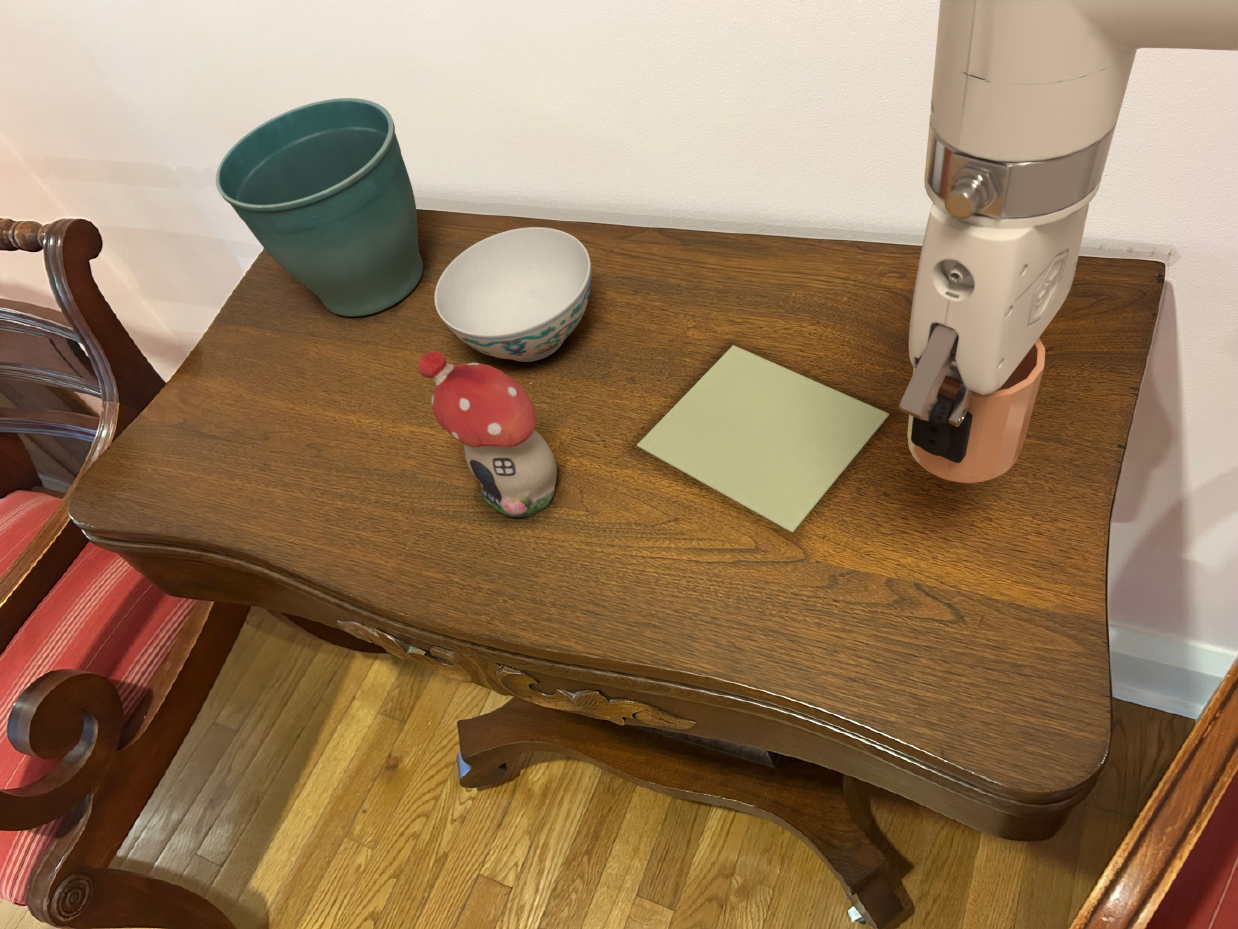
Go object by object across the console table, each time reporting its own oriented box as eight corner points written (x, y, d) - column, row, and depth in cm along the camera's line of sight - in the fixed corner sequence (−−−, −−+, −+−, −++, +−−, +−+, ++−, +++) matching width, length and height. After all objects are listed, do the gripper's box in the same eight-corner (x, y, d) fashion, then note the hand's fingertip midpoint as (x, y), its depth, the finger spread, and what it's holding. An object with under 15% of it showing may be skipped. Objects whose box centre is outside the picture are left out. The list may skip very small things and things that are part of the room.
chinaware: (448, 321, 89) (420, 263, 83) (580, 268, 90) (562, 207, 84) (481, 416, 80) (453, 358, 74) (628, 356, 81) (612, 294, 75)
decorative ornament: (460, 481, 75) (392, 362, 64) (516, 435, 77) (460, 313, 66) (524, 538, 70) (463, 420, 59) (582, 487, 72) (534, 364, 61)
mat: (889, 415, 71) (889, 413, 71) (792, 533, 66) (792, 532, 65) (733, 346, 79) (733, 344, 79) (636, 446, 74) (636, 445, 74)
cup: (1041, 426, 54) (1066, 335, 48) (989, 500, 52) (1009, 414, 45) (940, 386, 58) (952, 296, 51) (887, 454, 55) (893, 368, 49)
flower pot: (480, 240, 97) (426, 100, 84) (397, 351, 88) (321, 214, 75) (357, 224, 104) (288, 93, 91) (268, 325, 95) (178, 196, 82)
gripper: (1004, 292, 33) (956, 538, 47) (1181, 67, 40) (1093, 341, 53) (836, 238, 37) (837, 479, 51) (1022, 41, 44) (978, 303, 57)
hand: (969, 407), depth 52 cm, fingers closed on cup, 6 cm apart
